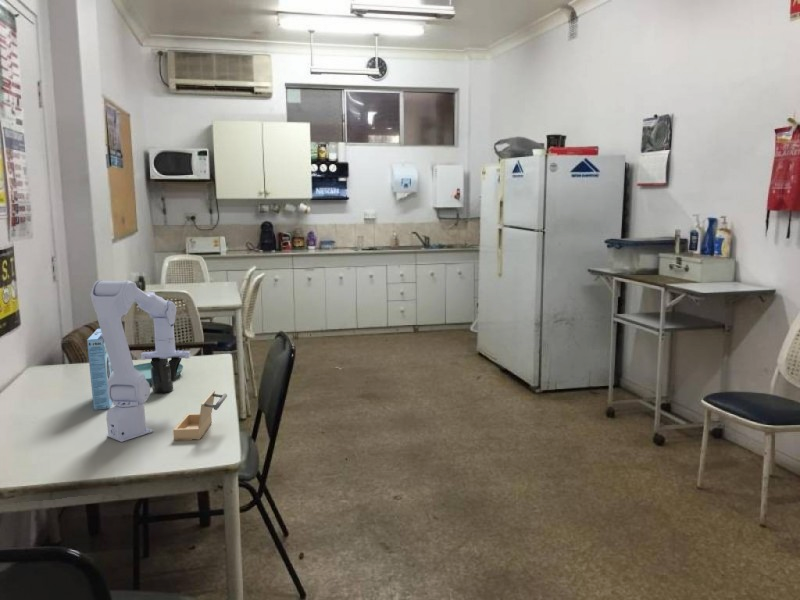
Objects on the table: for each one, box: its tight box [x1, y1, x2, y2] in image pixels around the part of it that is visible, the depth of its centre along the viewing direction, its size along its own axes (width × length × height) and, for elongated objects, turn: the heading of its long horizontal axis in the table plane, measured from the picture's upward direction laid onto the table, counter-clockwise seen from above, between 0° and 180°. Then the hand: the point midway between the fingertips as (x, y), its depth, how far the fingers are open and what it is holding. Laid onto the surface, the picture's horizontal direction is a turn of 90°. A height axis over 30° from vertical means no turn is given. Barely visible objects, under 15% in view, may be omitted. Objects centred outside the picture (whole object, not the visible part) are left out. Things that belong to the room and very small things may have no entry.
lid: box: [198, 389, 228, 428], centre depth 172 cm, size 7×13×4 cm
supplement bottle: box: [151, 358, 174, 395], centre depth 210 cm, size 7×7×12 cm
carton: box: [172, 413, 213, 442], centre depth 172 cm, size 7×13×3 cm, turn 3°
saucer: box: [133, 361, 184, 385], centre depth 229 cm, size 24×24×3 cm
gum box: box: [86, 328, 114, 411], centre depth 200 cm, size 20×5×23 cm, turn 17°
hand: (167, 380), depth 190 cm, fingers open, 3 cm apart
